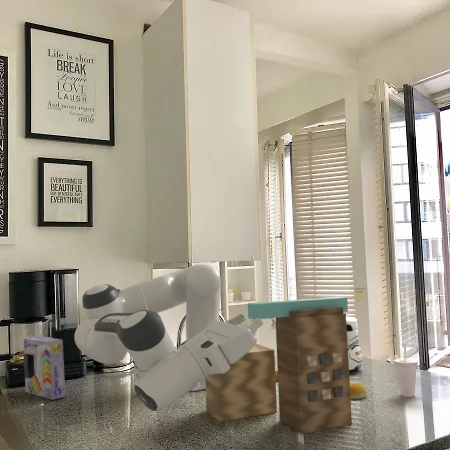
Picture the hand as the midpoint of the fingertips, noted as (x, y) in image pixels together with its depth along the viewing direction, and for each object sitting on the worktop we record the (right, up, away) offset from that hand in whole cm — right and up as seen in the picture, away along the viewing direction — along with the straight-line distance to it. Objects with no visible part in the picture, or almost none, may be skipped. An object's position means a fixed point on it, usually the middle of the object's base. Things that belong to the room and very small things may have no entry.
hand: (251, 318), depth 110 cm
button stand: (+16, -26, +4) cm, 31 cm away
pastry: (+14, -30, +48) cm, 58 cm away
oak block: (-2, -28, +15) cm, 31 cm away
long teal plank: (+12, 0, +5) cm, 13 cm away
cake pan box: (-63, -32, +38) cm, 81 cm away
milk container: (+34, -30, +57) cm, 73 cm away
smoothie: (+46, -27, +24) cm, 58 cm away
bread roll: (+30, -28, +27) cm, 49 cm away
